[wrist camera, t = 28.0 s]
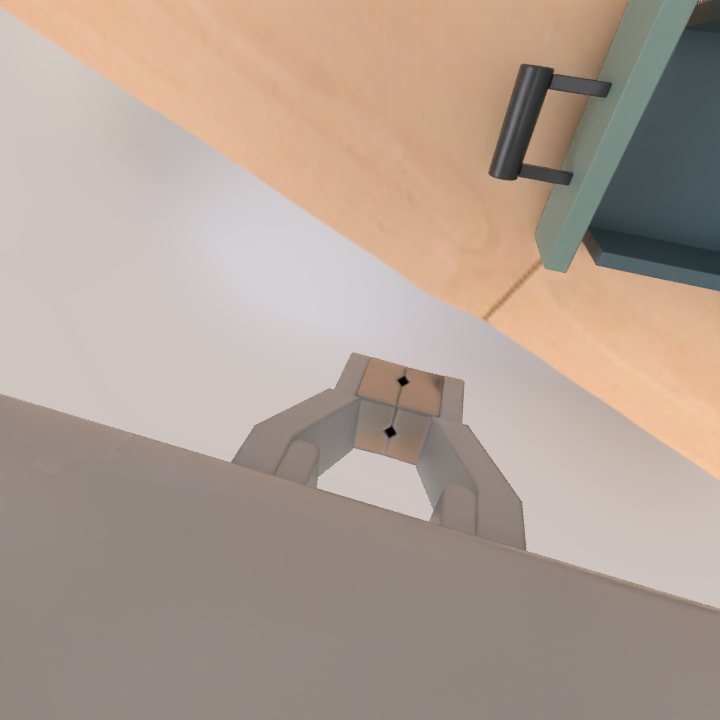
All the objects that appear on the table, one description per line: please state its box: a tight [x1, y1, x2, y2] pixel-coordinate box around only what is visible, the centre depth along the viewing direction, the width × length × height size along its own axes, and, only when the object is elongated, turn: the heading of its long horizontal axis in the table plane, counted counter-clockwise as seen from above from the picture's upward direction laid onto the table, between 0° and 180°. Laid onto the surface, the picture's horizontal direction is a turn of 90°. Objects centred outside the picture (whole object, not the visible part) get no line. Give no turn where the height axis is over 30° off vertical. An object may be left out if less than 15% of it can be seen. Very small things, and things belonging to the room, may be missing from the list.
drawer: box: [488, 0, 720, 291], centre depth 20 cm, size 19×12×6 cm, turn 83°
